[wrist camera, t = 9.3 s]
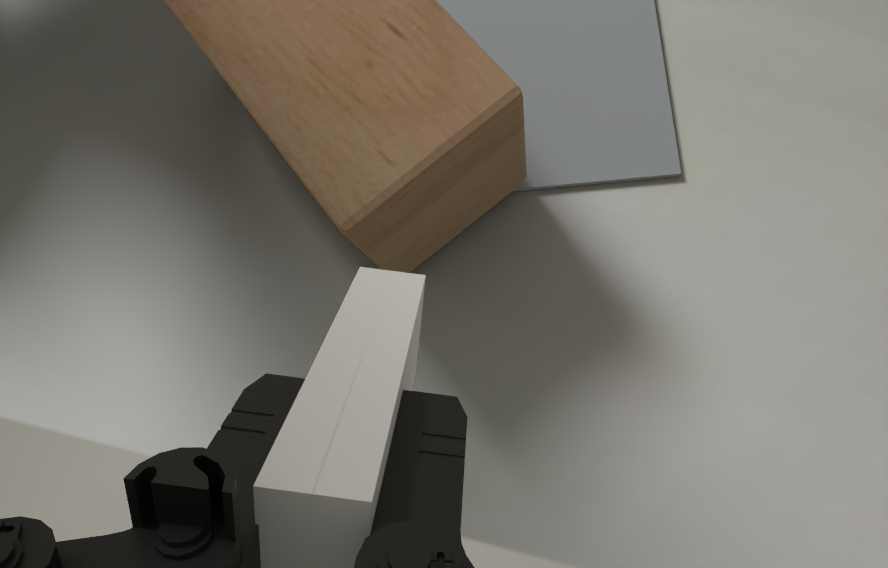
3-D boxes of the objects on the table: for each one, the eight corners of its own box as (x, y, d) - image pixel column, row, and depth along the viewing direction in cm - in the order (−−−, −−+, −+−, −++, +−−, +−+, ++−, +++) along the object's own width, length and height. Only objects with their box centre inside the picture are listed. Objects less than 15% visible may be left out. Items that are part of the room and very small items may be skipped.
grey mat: (368, -92, 41) (367, -97, 41) (631, -130, 39) (633, -135, 39) (378, 204, 36) (376, 201, 36) (679, 176, 34) (681, 173, 34)
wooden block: (527, 89, 25) (278, -170, 30) (342, 236, 25) (124, -50, 30) (530, 180, 34) (341, -28, 40) (397, 286, 34) (225, 63, 40)
